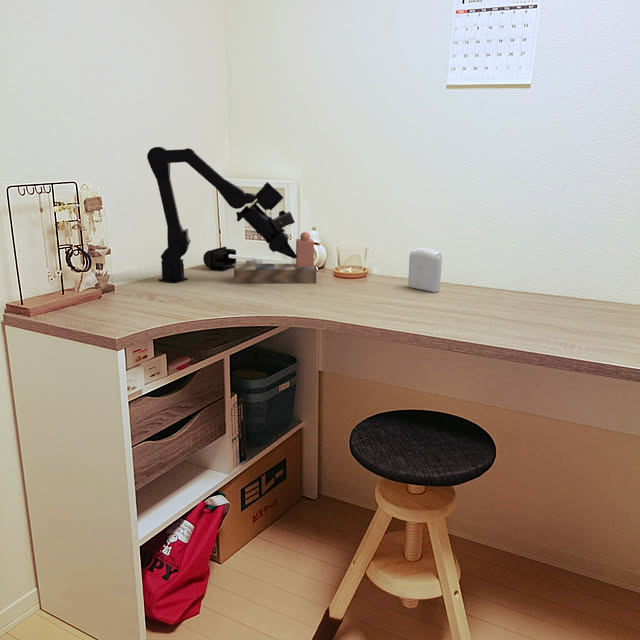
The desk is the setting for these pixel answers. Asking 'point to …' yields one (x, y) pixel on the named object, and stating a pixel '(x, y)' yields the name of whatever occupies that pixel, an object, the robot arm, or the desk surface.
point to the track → (273, 273)
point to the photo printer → (425, 269)
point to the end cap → (219, 259)
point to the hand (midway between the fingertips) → (295, 257)
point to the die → (254, 261)
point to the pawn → (305, 251)
